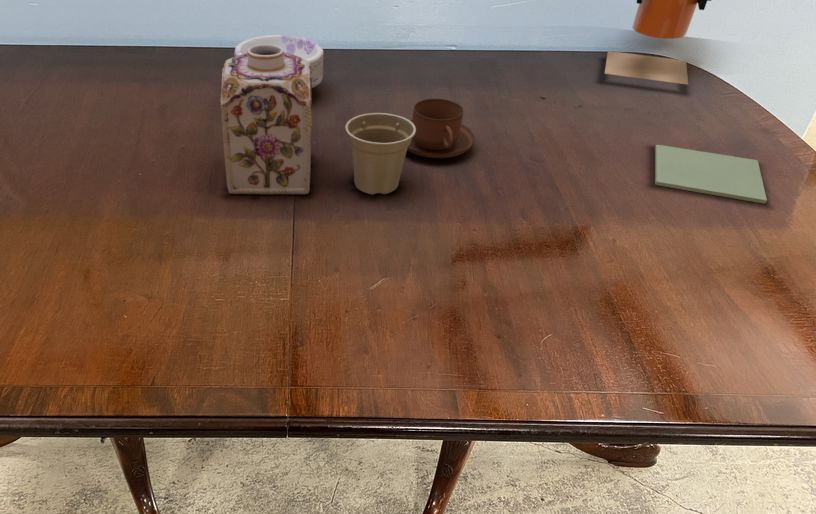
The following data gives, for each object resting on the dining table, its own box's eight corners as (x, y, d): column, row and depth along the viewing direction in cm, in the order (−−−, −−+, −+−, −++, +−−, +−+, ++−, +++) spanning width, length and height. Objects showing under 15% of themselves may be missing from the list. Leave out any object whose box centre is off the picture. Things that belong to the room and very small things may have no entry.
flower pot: (353, 163, 100) (356, 108, 94) (415, 174, 97) (422, 117, 91) (334, 195, 93) (336, 137, 87) (400, 206, 91) (407, 148, 85)
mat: (756, 163, 99) (757, 160, 99) (765, 204, 91) (767, 200, 90) (654, 147, 103) (656, 144, 103) (654, 185, 95) (656, 181, 94)
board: (683, 68, 126) (686, 60, 125) (685, 92, 118) (688, 84, 117) (605, 58, 130) (607, 50, 129) (602, 81, 122) (604, 73, 121)
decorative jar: (226, 196, 93) (214, 66, 81) (233, 155, 101) (224, 33, 89) (312, 196, 93) (313, 66, 81) (312, 155, 101) (313, 33, 89)
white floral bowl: (331, 80, 123) (332, 36, 117) (311, 116, 112) (311, 68, 106) (252, 73, 125) (249, 29, 120) (225, 106, 114) (221, 60, 109)
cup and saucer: (489, 152, 102) (496, 114, 98) (427, 173, 97) (433, 134, 93) (437, 123, 110) (443, 86, 105) (378, 141, 105) (381, 103, 101)
